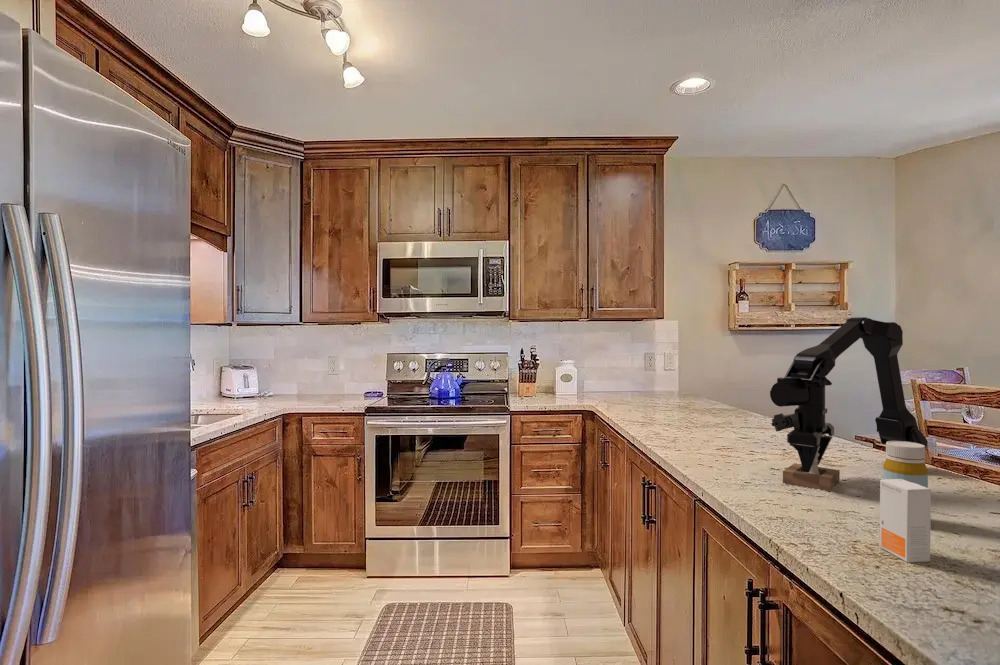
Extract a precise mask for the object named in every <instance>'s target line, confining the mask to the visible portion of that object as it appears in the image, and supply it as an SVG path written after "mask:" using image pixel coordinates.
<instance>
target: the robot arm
mask: <svg viewBox="0 0 1000 665" xmlns="http://www.w3.org/2000/svg"><path fill="white" fill-rule="evenodd" d="M903 333H904V332H903V329H902V327H901V325H900V324H898V323H897V322H894V321H889V322H888V321H882V320H876V319H872V318H869V317H867V316H865V317H864V316H863V317H861V316H860V317H859V316H857V317H849V318H847V319H846V320H845V322H844V323H843V324H842V325H841V326H840V327H838V329H836V330H835V331H834V332H833V333H831V334H830V335H829V336H828V337H826V339H823V341H822V342H820V343H819V344H817V345H815V346H812V347H808V348H806V349H803V350H802V351H800V352H798V353H796V355H795V356H794V358H793V361H792V362H791V364H790V366H789V368H788V370H787V372H786V373H785V375H784V377H781V376H780V377H777V378H776V383H774V384H773V385H772V387H771V389H770V390H769V396H770V399H771V401H772V403H773V404H774V405H775V406H778V407H780V408H781V407H794V406H795V407H796V406H797V407H796V408H795V409H794V412H793V413H790V414H785V415H784V414H783V413H779V414H775V415H774V416H773V418H772V419H771V426H772V427H774V429H775V431H776V432H781V431H782V430H787V429H790V428H793V430H791V431H790V432H788V434H786V438H787V439H786V443H788V445H789V446H790V447H792V448H794V449H795V450H796V452H797V454H798V456H799V460H800V464H802V468H803V471H804V472H807V473H809V471H810V469H811V467H812V464H813V462H814V460H815V457H816V455H817V453H819V454H820V455H819V456H818V458H817V459H818V466H819V465H820V462H821V461H822V460H823V457H824V456H825V455H824V454H825V452H826V451H827V448H828V446H829V445H830V442H831V441H832V440H833V436H834V435H835V427H834V426H833V424H832V423H831V422H826V414H827V413H828V408H827V407H826V386H832V385H833V382H832V381H831V380H829V379H828V378H827V376H828V375H829V374H830V373H831V371H832V370H833V369H834V367H835V366H836V360H837V359H838V358H839V356H841V355H842V354H843V353H844V352H845V351H847V350H848V349H849V348H851V346H852V345H853V344H855V343H856V342H857V341H858V340H859V339H862V342H863V345H864V348H865V350H867V351H868V352H869V354H870V355H871V356H872V357H873V360H874V366H875V371H876V378H877V383H878V388H879V394H880V400H881V405H882V411H881V413H879V416H876V417H875V419H874V420H875V424H876V432H877V433H878V435H879V439H880V444H881V445H886V442H887V441H906V442H913V443H918V444H922V445H924V446H925V450H926V449H927V447H928V443H929V442H928V440H927V439H926V437H925V436H924V434H923V433H922V432H921V430H920V429H919V426H918V422H917V419H916V417H915V416H914V415H913V413H911V411H909V409H908V408H907V406H906V401H905V400H906V399H905V394H904V388H903V383H902V376H901V369H900V364H899V360H898V359H899V358H898V354H899V351H900V350H901V348H902V347H903V346H904V345H903V343H904V342H903V336H904V335H903Z"/></svg>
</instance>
